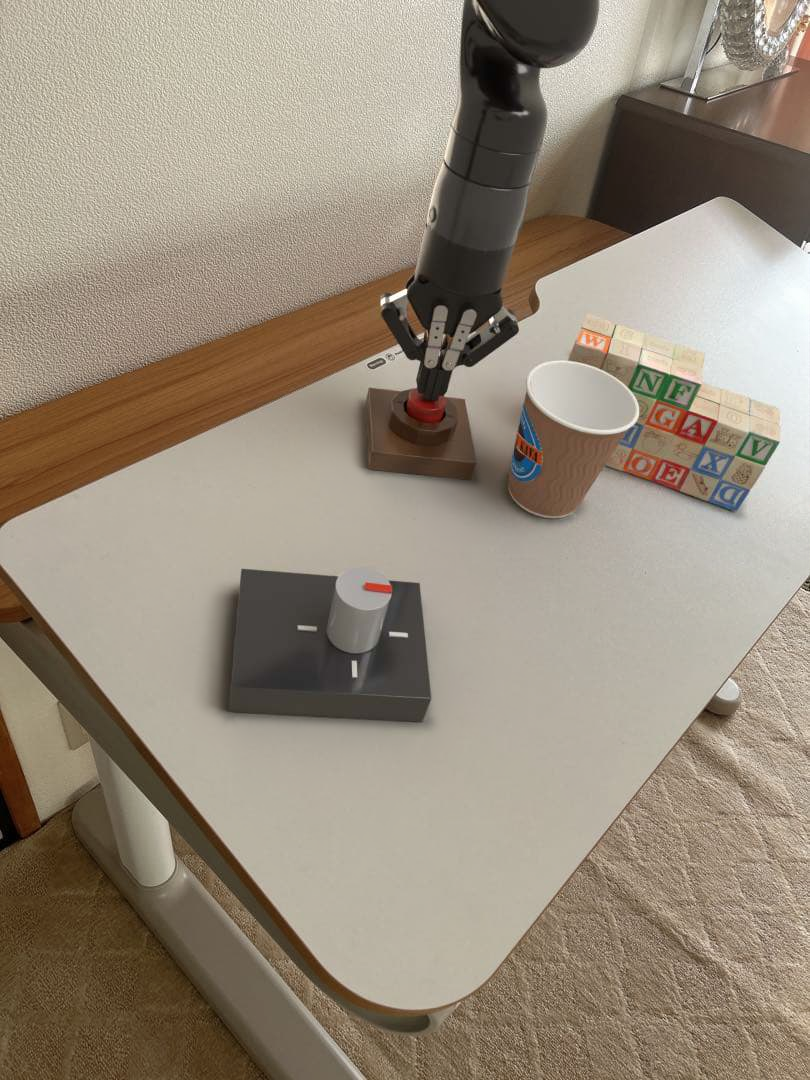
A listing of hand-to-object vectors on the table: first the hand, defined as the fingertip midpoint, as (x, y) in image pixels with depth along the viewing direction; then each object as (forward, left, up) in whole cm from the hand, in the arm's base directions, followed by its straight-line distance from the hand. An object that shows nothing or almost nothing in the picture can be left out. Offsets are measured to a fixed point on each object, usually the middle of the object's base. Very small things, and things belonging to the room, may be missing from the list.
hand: (428, 394), depth 84 cm
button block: (0, 0, -6) cm, 6 cm away
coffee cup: (+12, -6, -6) cm, 15 cm away
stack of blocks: (+24, +1, -6) cm, 25 cm away
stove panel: (-9, -27, -6) cm, 29 cm away
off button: (0, 0, -2) cm, 2 cm away
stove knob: (-8, -27, -3) cm, 28 cm away
